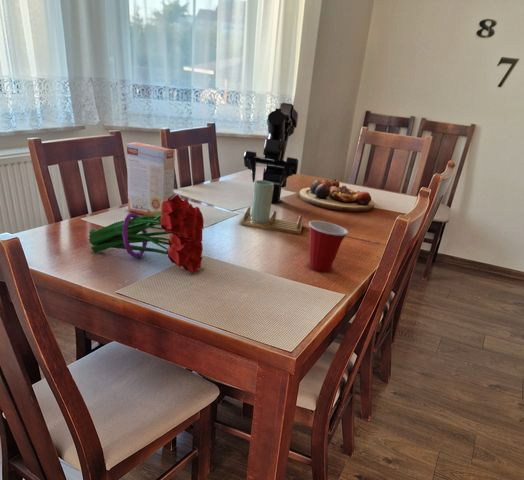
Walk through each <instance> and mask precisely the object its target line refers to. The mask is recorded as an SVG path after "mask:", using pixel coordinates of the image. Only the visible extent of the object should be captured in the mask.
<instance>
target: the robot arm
mask: <svg viewBox="0 0 524 480" xmlns="http://www.w3.org/2000/svg"><path fill="white" fill-rule="evenodd" d="M298 118H299V113H298V111H296V110H295V106H294V104H293V103H288V102H281V103H280V105H279V108H275V110H273V111H271V112H270V113H268V115H267V120H266V124H267V132H268V135H267V138H265V141H264V148H263V152H262V154H263V156H257V152H256V151H252V150H246V151H245V152H244V153H243V164H244V165H243V166H244V167H246V168H247V169H248V170H250V173H251V178H252V183H255V181H256V173H257V164H262V165H266V166H265V167H264V168H263V172H262V180H264V181H269V182H272V183H274V187H273V195H272V202H271V204H276V203H283V200H282V199H281V193H282V188H286V187H287V180H288V178H289V177H292V176H294V175H297V174H298V168H299V159H298V158H297V157H296V158H295V157H289V156H287V157H286V160H284V159H285V155H286V151H287V146H288V141H289V137H291V136H292V135H293V134H294V133H295V129H297V127H298V120H299V119H298Z"/></svg>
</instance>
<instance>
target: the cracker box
mask: <svg viewBox="0 0 524 480" xmlns="http://www.w3.org/2000/svg"><path fill="white" fill-rule="evenodd" d="M175 156H176V150H175V149H172V148H167V147H163V146H159V145H153V144H148V143H144V142H139V141H135V142H128V143H126V162H127V163H126V168H127V170H126V171H127V172H126V173H127V210H128V211H129V212H131V213H136V214H138V215H142V216H144V215H152V216H159V215H160V214H162V213H161V212H162V202H163V201H165V200H167V199H168V198H170V197H171V196H173V197H175V160H176V159H175ZM173 197H172V198H173ZM172 198H171V199H172ZM171 199H170V200H171Z"/></svg>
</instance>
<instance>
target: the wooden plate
mask: <svg viewBox="0 0 524 480" xmlns="http://www.w3.org/2000/svg"><path fill="white" fill-rule="evenodd" d="M298 195H299V197H300V198H301V199H302V201H304V202H306V203H308V204H309V203H310V204H312V205H314V206H317V207H321V208H325V209H330V210H334V211H341V212H342V211H343V212H357V213H358V212H367V211H370V210H372V209H373V208H374V207H375V201H374V200H373V199H372V196H371V195H370V193H369V192H368V191H360V190H353V189H350V188H348V187H347V185H342V186H340V181H339V180H338V179H336V178H334V179H332V180H329V179H323V180H320V179H316V180H314V181H313V182H312V183H310V186H309V187H304V188H302V189H300V191H299V193H298Z"/></svg>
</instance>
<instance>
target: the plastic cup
mask: <svg viewBox="0 0 524 480" xmlns="http://www.w3.org/2000/svg"><path fill="white" fill-rule="evenodd" d="M308 225H309V251H308V252H309V253H308V255H309V268H310V269H312V270H314V271H317V272H323V273H325V272H329V271H330V270H331V268H332V266H333V263H334V261H335V259H336V257H337V254H338V251H339V249H340V247H341V245H342V242H343V240H344V238H345V237H346V236H347V235H348V233H349V231H348V230H347V228H345V227H343V226H340V225H338V224H335V223H332V222H328V221H323V220H309V222H308Z"/></svg>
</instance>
